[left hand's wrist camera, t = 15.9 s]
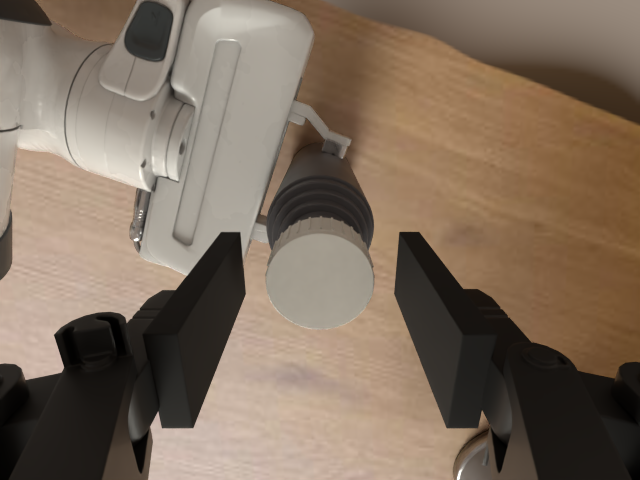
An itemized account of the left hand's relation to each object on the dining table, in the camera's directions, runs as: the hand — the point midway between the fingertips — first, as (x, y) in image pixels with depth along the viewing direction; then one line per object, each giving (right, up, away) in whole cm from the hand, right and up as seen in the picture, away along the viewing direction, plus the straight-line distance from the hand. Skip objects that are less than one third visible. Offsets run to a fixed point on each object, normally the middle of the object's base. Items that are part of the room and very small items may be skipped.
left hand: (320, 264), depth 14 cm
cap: (0, -1, -1) cm, 1 cm away
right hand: (+1, +5, +13) cm, 14 cm away
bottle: (0, +7, +19) cm, 20 cm away
